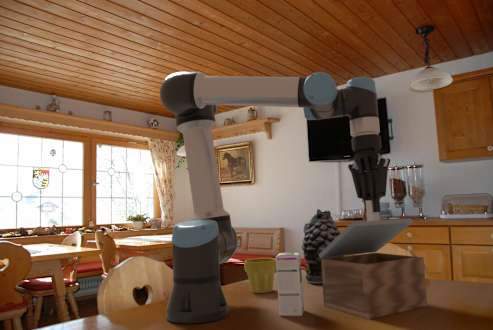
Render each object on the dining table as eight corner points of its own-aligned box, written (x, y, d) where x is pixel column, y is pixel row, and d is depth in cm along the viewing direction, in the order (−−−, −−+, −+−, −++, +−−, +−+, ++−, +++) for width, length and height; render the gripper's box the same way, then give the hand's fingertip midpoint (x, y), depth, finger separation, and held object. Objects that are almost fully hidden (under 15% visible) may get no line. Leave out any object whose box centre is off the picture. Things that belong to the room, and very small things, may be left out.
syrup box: (302, 316, 96) (299, 254, 98) (278, 316, 98) (275, 254, 99) (304, 310, 102) (301, 251, 104) (280, 310, 103) (278, 252, 105)
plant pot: (240, 294, 125) (239, 261, 126) (251, 287, 135) (250, 257, 136) (273, 295, 122) (271, 261, 123) (281, 288, 131) (280, 257, 132)
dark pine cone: (306, 275, 155) (303, 209, 157) (347, 275, 151) (342, 208, 154) (299, 285, 135) (295, 210, 137) (346, 286, 131) (341, 208, 134)
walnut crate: (369, 319, 92) (365, 265, 93) (323, 305, 106) (321, 259, 107) (427, 306, 102) (423, 257, 103) (379, 295, 115) (376, 252, 117)
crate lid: (354, 226, 96) (352, 222, 97) (320, 258, 107) (318, 254, 108) (413, 222, 106) (410, 218, 107) (376, 251, 117) (374, 248, 118)
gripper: (395, 131, 104) (404, 224, 101) (358, 140, 115) (365, 224, 112) (374, 130, 100) (383, 226, 97) (338, 139, 112) (345, 226, 109)
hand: (373, 225), depth 105 cm, fingers closed
